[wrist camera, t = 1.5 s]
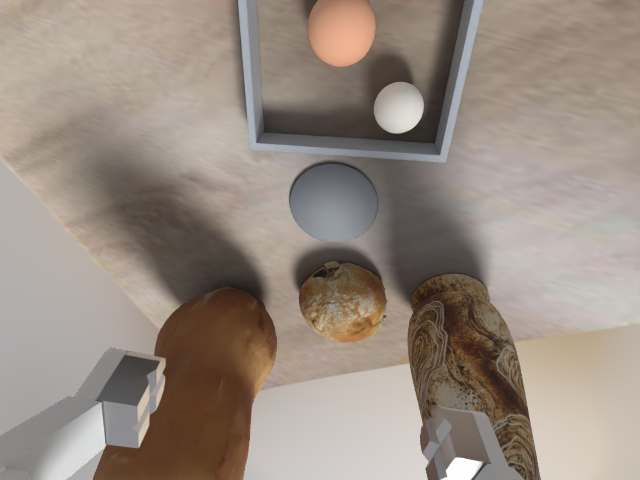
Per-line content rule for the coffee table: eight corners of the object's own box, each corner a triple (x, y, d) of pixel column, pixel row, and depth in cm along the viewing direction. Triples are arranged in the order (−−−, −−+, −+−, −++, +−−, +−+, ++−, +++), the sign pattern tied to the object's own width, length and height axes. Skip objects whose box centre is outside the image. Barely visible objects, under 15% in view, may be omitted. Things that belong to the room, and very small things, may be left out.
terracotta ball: (378, -11, 28) (380, -11, 24) (371, 62, 31) (372, 74, 26) (312, -13, 28) (303, -14, 24) (311, 59, 31) (302, 70, 27)
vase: (499, 324, 45) (658, 731, 20) (412, 339, 48) (458, 708, 23) (486, 258, 40) (675, 692, 15) (389, 280, 43) (417, 670, 18)
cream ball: (424, 78, 31) (431, 89, 28) (416, 126, 33) (421, 141, 30) (376, 76, 31) (377, 86, 28) (371, 123, 33) (371, 138, 30)
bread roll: (365, 239, 45) (346, 255, 37) (407, 313, 45) (396, 343, 37) (302, 273, 49) (273, 294, 42) (340, 341, 49) (319, 373, 41)
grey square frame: (486, -60, 26) (498, -65, 23) (440, 150, 34) (445, 162, 32) (244, -66, 27) (232, -71, 24) (258, 138, 35) (249, 149, 33)
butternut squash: (264, 354, 53) (197, 585, 32) (174, 318, 51) (41, 542, 30) (303, 291, 46) (249, 540, 25) (200, 246, 43) (47, 478, 23)
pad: (382, 166, 35) (382, 168, 35) (372, 244, 41) (372, 245, 40) (289, 160, 36) (289, 161, 36) (291, 237, 41) (290, 238, 41)
